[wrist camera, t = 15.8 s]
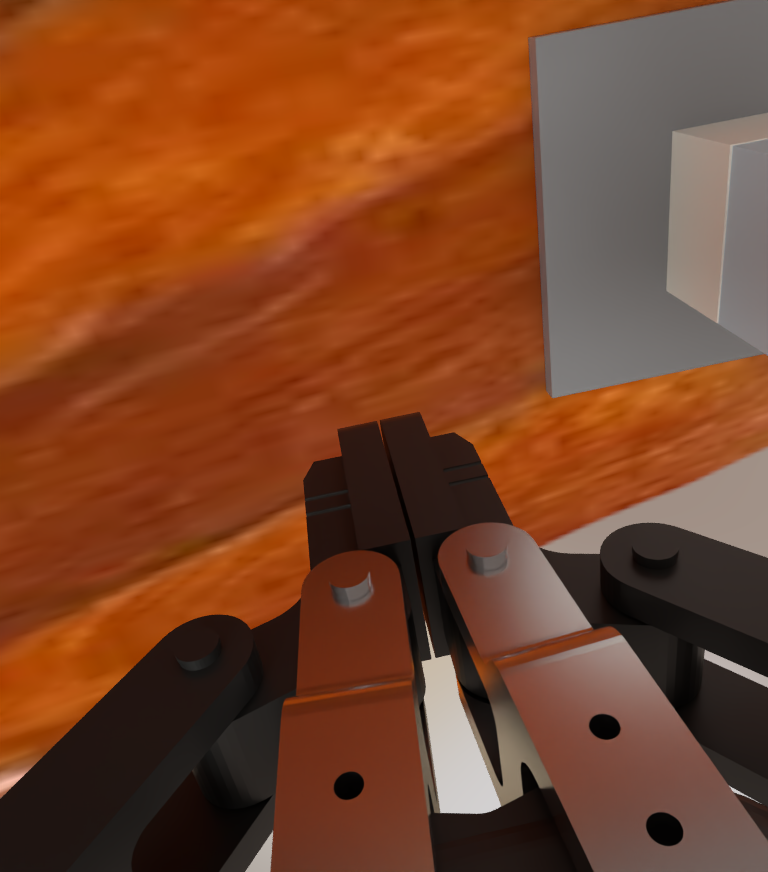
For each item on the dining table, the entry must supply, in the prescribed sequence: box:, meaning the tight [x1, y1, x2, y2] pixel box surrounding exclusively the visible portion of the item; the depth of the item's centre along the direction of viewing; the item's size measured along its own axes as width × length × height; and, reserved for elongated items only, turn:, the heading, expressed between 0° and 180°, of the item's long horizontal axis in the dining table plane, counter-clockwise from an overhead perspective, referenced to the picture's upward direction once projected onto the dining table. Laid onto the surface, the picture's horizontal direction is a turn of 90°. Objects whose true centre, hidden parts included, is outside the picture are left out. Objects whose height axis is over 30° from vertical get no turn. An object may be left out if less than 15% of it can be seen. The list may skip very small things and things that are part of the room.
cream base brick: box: [666, 113, 768, 323], centre depth 35 cm, size 8×5×5 cm, turn 9°
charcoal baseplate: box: [528, 0, 768, 398], centre depth 37 cm, size 18×18×1 cm
